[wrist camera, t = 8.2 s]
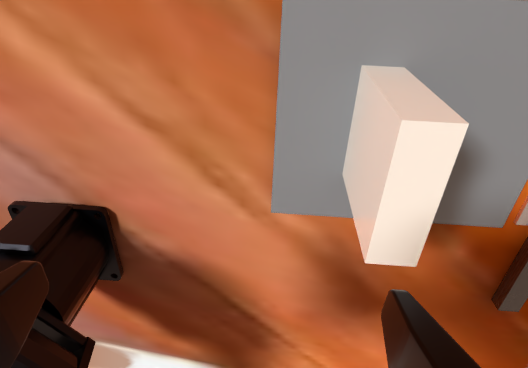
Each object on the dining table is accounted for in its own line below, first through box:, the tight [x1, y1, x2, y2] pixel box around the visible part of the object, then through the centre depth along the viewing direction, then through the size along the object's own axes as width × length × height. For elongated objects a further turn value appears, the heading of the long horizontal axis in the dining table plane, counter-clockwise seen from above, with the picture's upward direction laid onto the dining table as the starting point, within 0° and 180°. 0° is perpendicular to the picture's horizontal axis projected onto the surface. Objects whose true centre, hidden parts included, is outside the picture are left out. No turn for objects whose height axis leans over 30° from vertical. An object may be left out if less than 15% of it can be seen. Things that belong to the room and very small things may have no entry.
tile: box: [342, 65, 469, 267], centre depth 15 cm, size 6×2×7 cm, turn 178°
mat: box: [271, 0, 528, 228], centre depth 18 cm, size 12×14×1 cm
